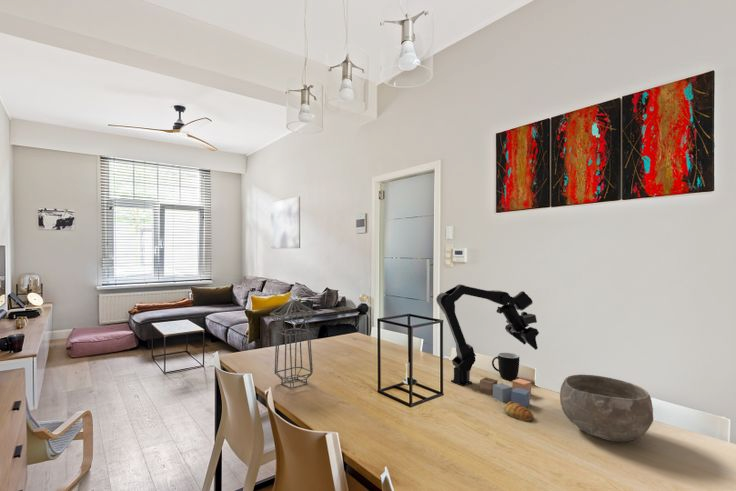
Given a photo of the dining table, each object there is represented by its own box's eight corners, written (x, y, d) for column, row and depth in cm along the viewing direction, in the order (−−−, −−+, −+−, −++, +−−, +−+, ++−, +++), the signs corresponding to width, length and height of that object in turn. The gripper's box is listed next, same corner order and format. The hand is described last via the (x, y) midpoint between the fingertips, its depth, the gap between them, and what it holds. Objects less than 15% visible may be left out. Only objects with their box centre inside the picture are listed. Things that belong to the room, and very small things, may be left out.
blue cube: (525, 408, 136) (525, 394, 136) (511, 404, 139) (511, 391, 139) (529, 404, 139) (529, 390, 140) (515, 400, 143) (515, 387, 143)
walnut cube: (491, 396, 147) (491, 383, 147) (479, 392, 151) (479, 380, 151) (497, 393, 151) (497, 380, 151) (485, 389, 154) (486, 377, 154)
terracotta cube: (523, 397, 146) (523, 384, 146) (512, 393, 150) (512, 380, 150) (531, 394, 149) (531, 382, 149) (519, 390, 153) (519, 378, 153)
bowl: (658, 464, 100) (658, 407, 100) (556, 439, 113) (556, 389, 113) (649, 429, 120) (649, 381, 121) (563, 411, 133) (563, 368, 134)
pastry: (538, 419, 127) (538, 408, 127) (525, 424, 123) (525, 412, 123) (514, 409, 135) (514, 398, 135) (501, 413, 131) (501, 402, 132)
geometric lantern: (286, 393, 147) (285, 303, 148) (268, 383, 159) (267, 300, 160) (320, 384, 157) (319, 299, 158) (300, 375, 169) (299, 297, 170)
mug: (522, 377, 169) (522, 355, 170) (515, 382, 162) (515, 359, 163) (495, 372, 177) (495, 350, 177) (488, 376, 170) (488, 354, 170)
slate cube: (502, 402, 141) (502, 389, 141) (492, 397, 145) (492, 384, 145) (512, 400, 143) (512, 387, 143) (502, 395, 148) (502, 382, 148)
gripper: (539, 309, 157) (558, 341, 157) (516, 303, 175) (533, 331, 176) (517, 324, 155) (536, 356, 156) (497, 316, 174) (514, 345, 175)
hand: (530, 346), depth 166 cm, fingers open, 9 cm apart
